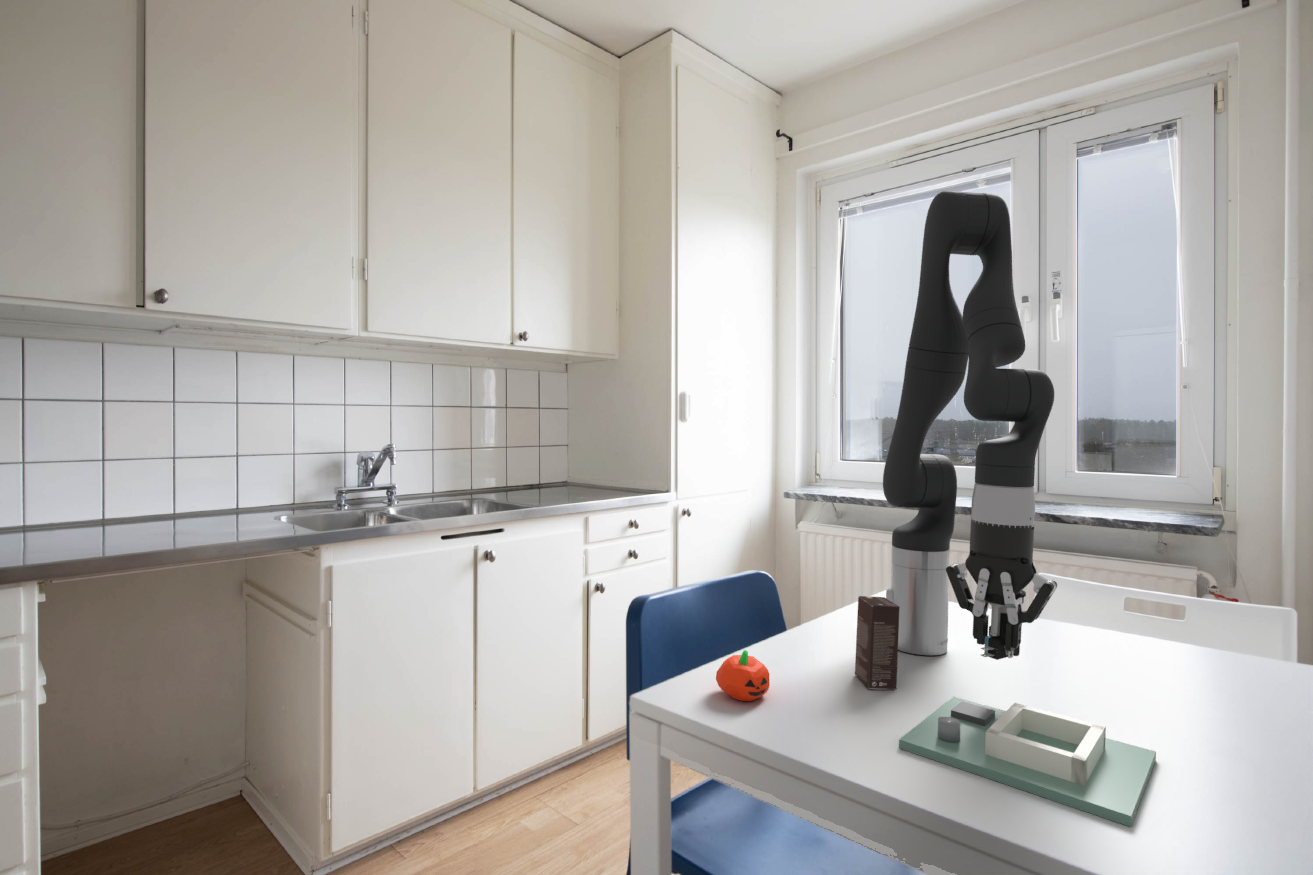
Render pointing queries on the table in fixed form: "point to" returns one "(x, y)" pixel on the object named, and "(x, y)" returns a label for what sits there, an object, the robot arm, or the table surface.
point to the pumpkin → (743, 677)
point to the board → (1038, 755)
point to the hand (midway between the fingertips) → (996, 645)
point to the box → (877, 642)
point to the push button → (999, 628)
